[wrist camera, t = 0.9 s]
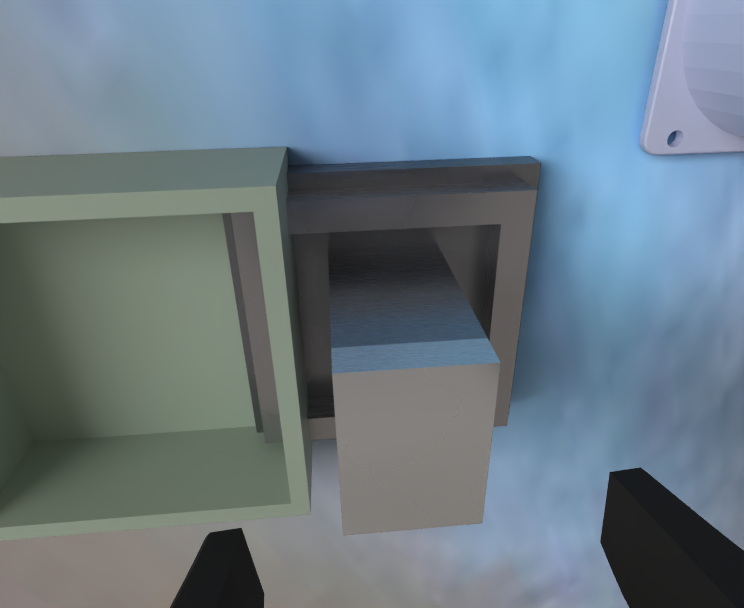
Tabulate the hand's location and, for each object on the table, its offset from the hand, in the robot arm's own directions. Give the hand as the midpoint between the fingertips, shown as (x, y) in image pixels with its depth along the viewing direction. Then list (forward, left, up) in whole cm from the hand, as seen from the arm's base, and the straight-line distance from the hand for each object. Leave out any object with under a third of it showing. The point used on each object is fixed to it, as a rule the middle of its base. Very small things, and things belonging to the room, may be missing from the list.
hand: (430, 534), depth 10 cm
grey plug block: (0, 0, -9) cm, 9 cm away
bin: (+8, 0, -10) cm, 13 cm away
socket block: (0, 0, -10) cm, 10 cm away
